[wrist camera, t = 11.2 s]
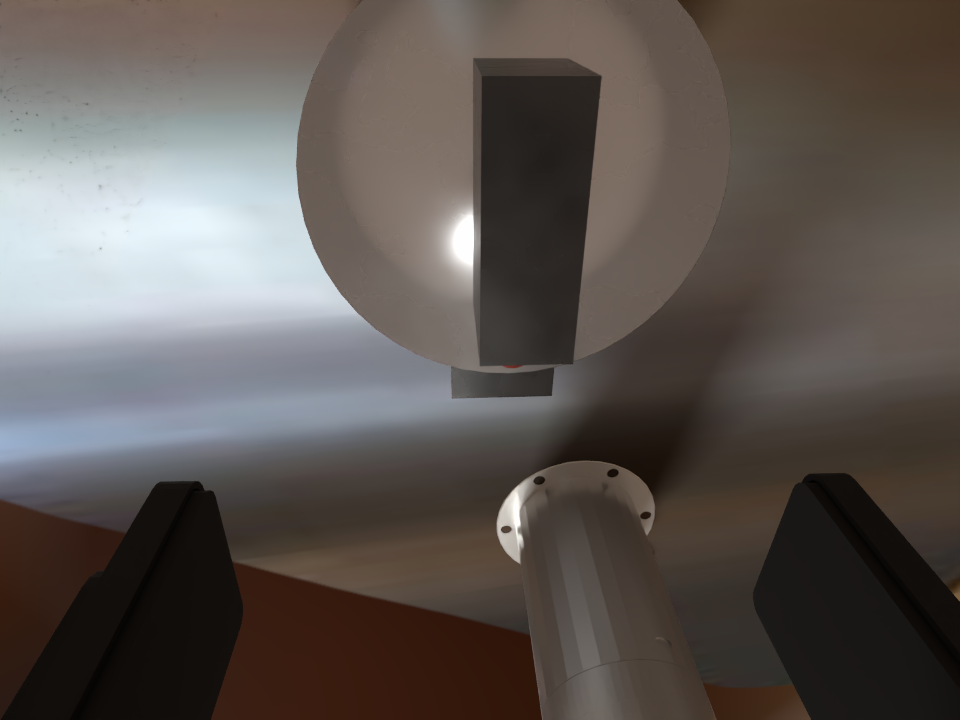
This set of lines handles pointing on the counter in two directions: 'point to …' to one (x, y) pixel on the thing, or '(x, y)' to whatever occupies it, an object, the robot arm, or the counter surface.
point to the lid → (512, 171)
